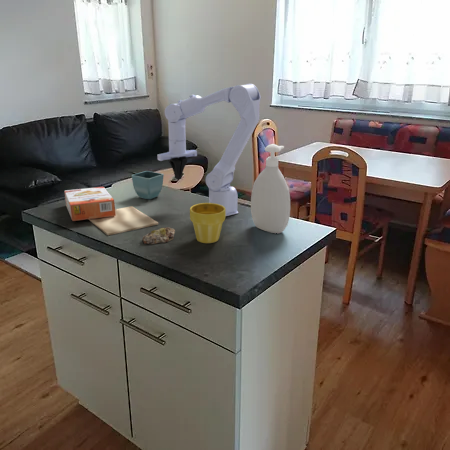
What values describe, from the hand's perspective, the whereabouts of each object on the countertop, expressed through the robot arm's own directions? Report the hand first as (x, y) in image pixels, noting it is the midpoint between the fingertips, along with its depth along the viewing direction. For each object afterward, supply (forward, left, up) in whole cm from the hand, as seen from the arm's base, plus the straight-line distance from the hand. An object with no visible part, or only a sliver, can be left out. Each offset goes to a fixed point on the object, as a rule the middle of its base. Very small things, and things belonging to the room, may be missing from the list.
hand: (178, 178), depth 160 cm
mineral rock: (+20, +23, -11) cm, 32 cm away
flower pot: (+4, -16, -11) cm, 20 cm away
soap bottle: (-13, +35, -11) cm, 39 cm away
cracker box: (+30, -1, -6) cm, 31 cm away
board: (+23, +2, -10) cm, 25 cm away
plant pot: (+8, +31, -11) cm, 34 cm away
